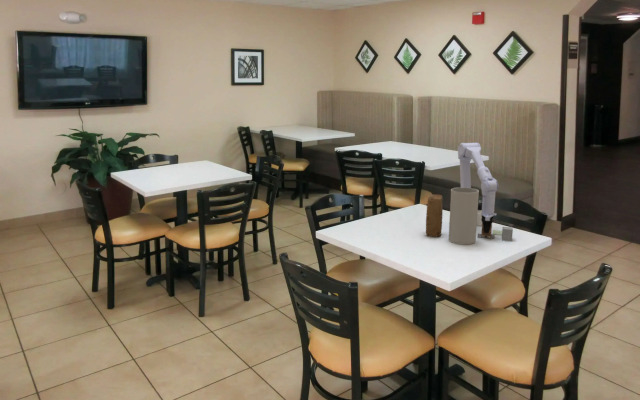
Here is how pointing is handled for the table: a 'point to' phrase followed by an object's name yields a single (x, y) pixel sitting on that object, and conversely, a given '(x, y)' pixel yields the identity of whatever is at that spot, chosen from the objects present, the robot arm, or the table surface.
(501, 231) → the sage mat
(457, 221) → the cylinder vase
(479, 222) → the medicine bottle
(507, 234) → the slate block
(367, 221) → the table surface
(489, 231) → the walnut block
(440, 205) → the block
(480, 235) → the tile
